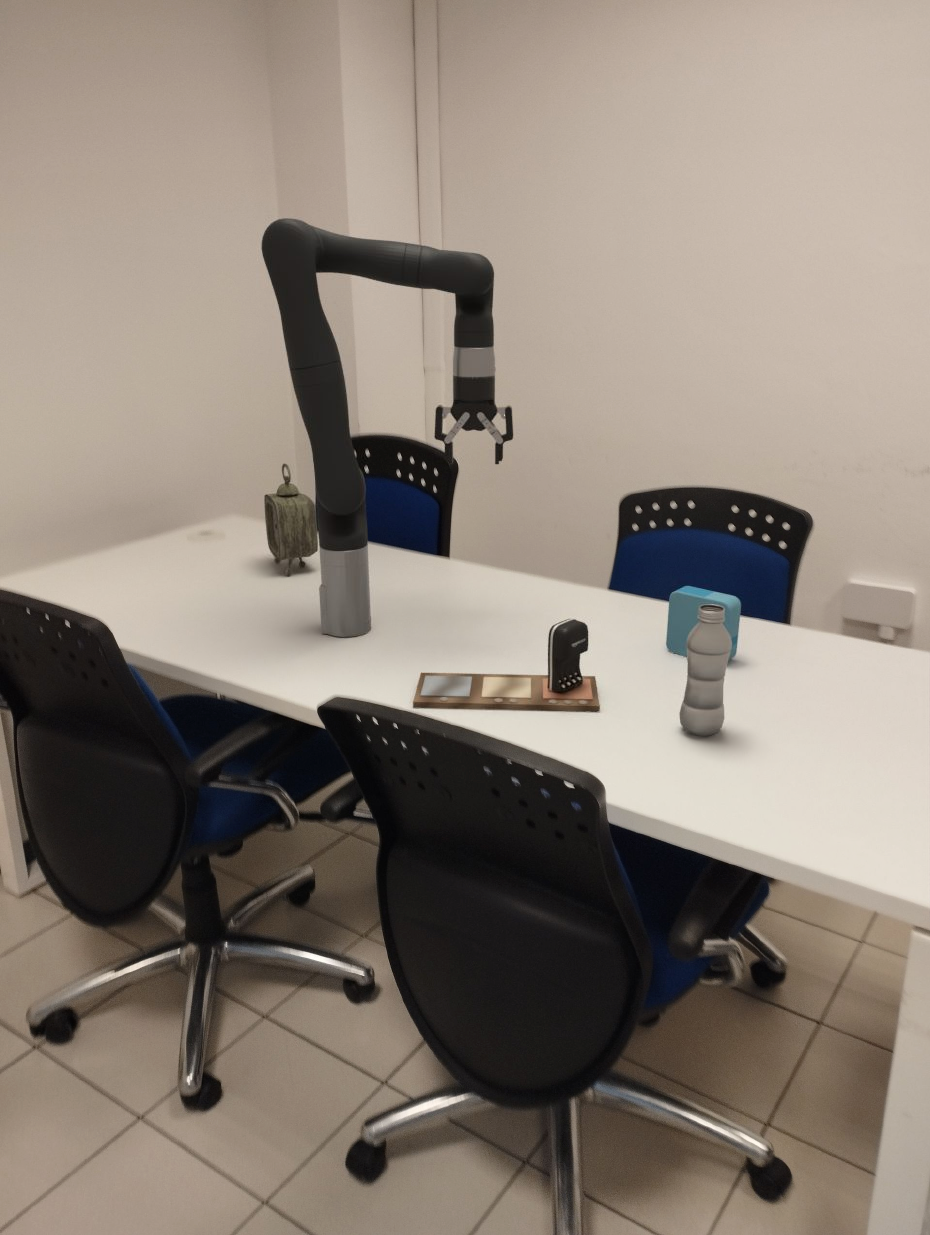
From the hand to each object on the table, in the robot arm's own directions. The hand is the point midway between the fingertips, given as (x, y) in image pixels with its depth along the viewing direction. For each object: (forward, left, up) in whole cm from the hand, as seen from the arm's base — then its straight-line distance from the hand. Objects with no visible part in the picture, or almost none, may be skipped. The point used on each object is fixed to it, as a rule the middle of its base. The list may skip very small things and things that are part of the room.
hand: (474, 463), depth 177 cm
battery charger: (+17, -29, -32) cm, 46 cm away
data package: (+42, -10, -33) cm, 55 cm away
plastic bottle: (+37, -41, -33) cm, 64 cm away
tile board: (+7, -29, -33) cm, 45 cm away
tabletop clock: (-45, +40, -33) cm, 69 cm away
